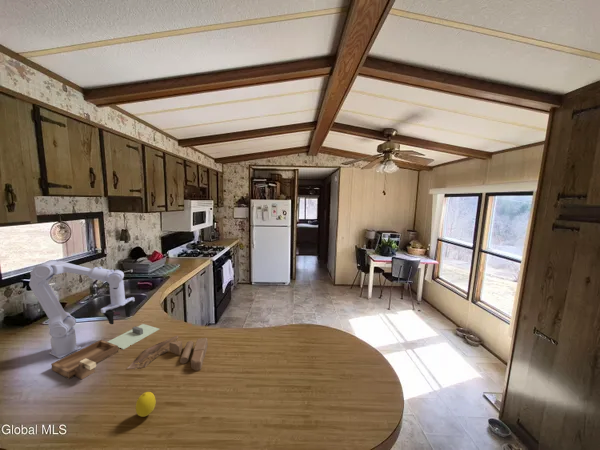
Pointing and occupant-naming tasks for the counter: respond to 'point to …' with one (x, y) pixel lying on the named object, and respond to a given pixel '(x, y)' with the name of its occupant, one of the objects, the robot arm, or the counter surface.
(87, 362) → the key
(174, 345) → the wooden block set
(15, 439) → the counter surface
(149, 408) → the lemon
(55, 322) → the robot arm
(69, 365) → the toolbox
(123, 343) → the lid
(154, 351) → the wooden fragment
